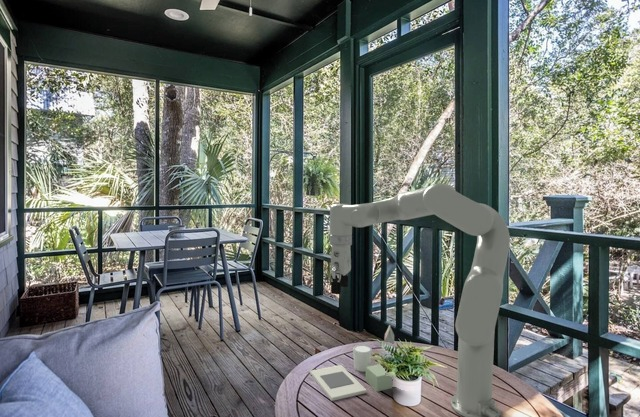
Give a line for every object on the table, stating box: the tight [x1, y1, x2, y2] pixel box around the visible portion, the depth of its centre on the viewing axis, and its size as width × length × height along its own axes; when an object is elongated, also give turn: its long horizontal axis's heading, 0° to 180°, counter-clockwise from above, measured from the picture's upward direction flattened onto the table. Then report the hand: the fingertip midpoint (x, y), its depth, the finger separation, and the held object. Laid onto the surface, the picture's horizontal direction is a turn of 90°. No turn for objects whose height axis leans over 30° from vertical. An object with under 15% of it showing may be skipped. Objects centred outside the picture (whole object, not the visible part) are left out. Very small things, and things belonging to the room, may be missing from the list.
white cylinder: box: [352, 344, 373, 373], centre depth 133 cm, size 7×7×7 cm
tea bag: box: [383, 324, 395, 345], centre depth 146 cm, size 4×7×10 cm, turn 168°
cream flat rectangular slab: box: [309, 364, 367, 402], centre depth 123 cm, size 18×12×1 cm, turn 23°
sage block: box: [365, 363, 393, 392], centre depth 122 cm, size 7×7×5 cm
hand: (339, 290), depth 127 cm, fingers open, 9 cm apart
